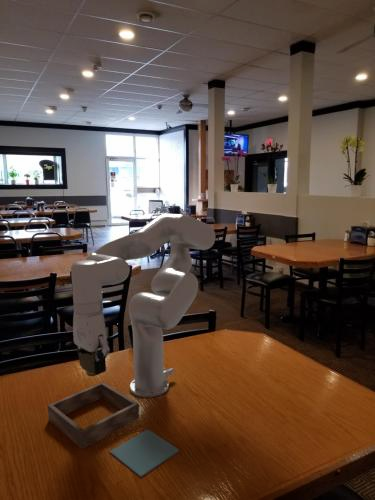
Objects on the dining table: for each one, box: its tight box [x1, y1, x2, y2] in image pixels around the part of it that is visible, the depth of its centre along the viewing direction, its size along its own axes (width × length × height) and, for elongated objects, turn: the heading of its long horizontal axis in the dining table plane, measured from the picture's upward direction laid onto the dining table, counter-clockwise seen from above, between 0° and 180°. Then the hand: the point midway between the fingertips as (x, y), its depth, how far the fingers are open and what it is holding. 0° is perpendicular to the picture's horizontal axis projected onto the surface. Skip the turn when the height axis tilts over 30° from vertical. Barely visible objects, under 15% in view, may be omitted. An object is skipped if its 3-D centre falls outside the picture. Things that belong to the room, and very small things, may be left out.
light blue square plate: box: [109, 428, 180, 478], centre depth 94 cm, size 12×12×1 cm
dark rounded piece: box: [77, 346, 101, 377], centre depth 105 cm, size 8×7×8 cm
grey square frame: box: [47, 381, 140, 450], centre depth 107 cm, size 18×18×4 cm
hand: (92, 368), depth 106 cm, fingers closed on dark rounded piece, 6 cm apart
